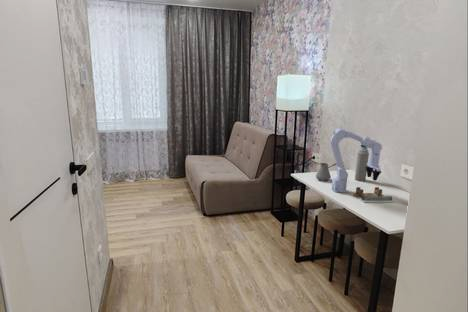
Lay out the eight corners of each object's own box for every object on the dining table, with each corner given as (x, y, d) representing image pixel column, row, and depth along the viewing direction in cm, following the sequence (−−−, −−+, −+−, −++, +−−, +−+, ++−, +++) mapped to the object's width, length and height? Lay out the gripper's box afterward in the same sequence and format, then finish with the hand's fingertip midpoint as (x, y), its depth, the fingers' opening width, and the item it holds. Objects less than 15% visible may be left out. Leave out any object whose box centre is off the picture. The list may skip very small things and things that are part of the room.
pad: (364, 202, 187) (364, 201, 187) (358, 198, 194) (359, 197, 194) (394, 202, 189) (394, 201, 188) (388, 198, 195) (388, 197, 195)
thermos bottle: (366, 179, 235) (370, 145, 228) (364, 182, 228) (369, 146, 222) (355, 177, 239) (359, 143, 232) (353, 180, 232) (357, 145, 226)
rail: (363, 200, 189) (363, 197, 189) (361, 198, 192) (361, 196, 191) (391, 200, 191) (392, 197, 190) (389, 198, 193) (390, 195, 192)
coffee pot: (318, 182, 226) (320, 163, 223) (313, 177, 237) (314, 159, 234) (345, 181, 229) (347, 162, 225) (338, 177, 240) (340, 159, 236)
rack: (356, 197, 197) (357, 189, 195) (353, 194, 201) (353, 187, 200) (383, 197, 198) (384, 189, 196) (379, 194, 203) (380, 187, 201)
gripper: (386, 162, 193) (383, 181, 196) (374, 157, 207) (372, 175, 210) (375, 162, 192) (373, 181, 195) (364, 156, 206) (362, 175, 210)
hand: (371, 178), depth 203 cm, fingers open, 7 cm apart
